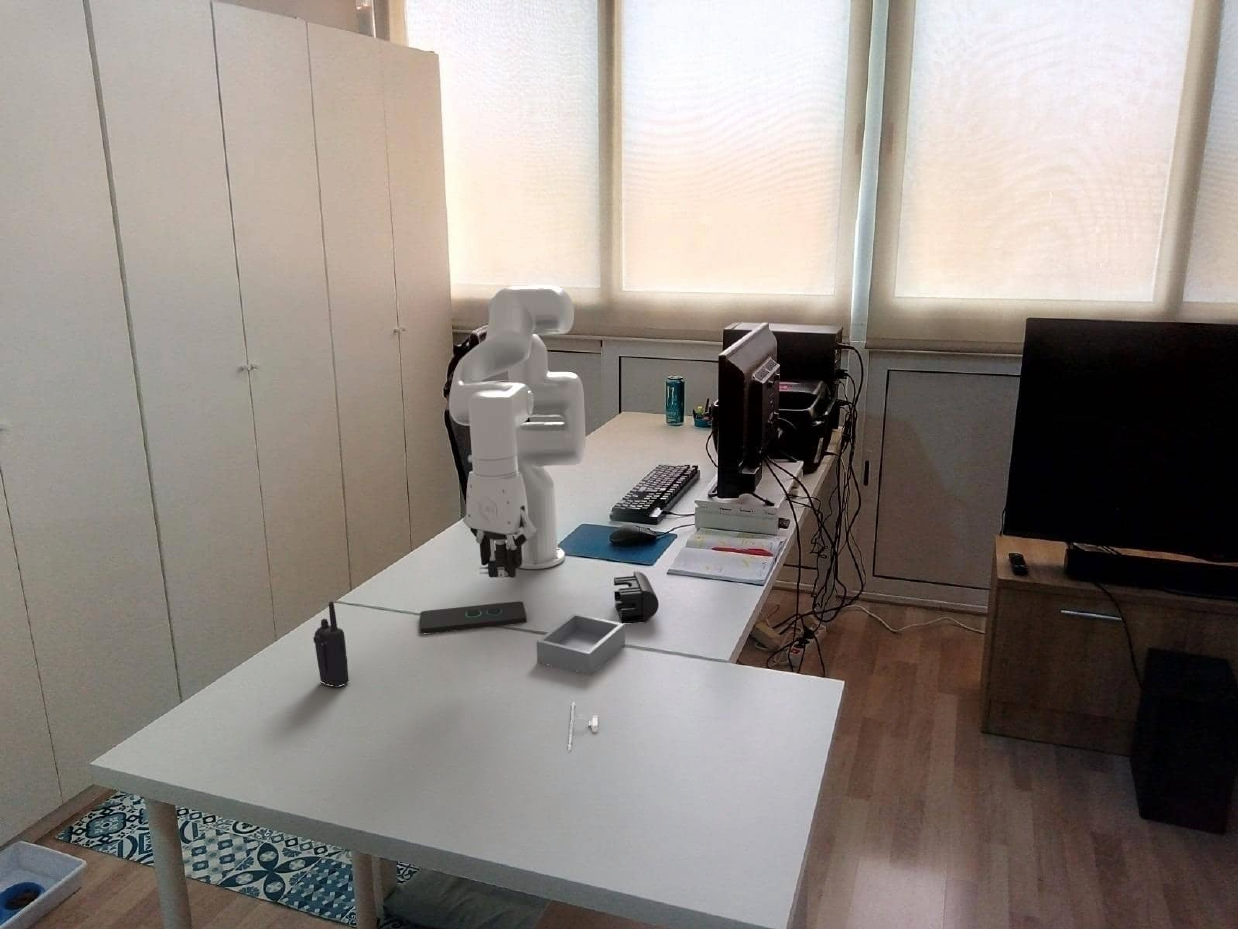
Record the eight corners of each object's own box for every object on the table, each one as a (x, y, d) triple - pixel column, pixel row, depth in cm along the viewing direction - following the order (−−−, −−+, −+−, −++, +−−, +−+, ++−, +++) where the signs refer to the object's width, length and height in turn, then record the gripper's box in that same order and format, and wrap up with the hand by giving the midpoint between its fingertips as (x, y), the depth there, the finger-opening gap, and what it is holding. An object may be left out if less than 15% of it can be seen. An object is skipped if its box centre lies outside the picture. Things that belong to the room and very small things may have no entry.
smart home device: (527, 617, 170) (419, 628, 166) (527, 625, 170) (420, 637, 167) (522, 599, 178) (420, 610, 174) (523, 607, 178) (421, 618, 175)
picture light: (571, 704, 143) (570, 692, 142) (598, 703, 143) (598, 692, 142) (566, 755, 129) (566, 742, 129) (596, 755, 129) (596, 742, 129)
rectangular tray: (537, 662, 155) (536, 641, 154) (574, 632, 166) (574, 613, 165) (590, 675, 150) (589, 654, 149) (625, 644, 161) (624, 624, 160)
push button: (477, 582, 153) (473, 527, 150) (482, 569, 158) (478, 516, 155) (516, 581, 153) (513, 526, 150) (519, 568, 158) (516, 515, 155)
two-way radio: (354, 682, 150) (344, 600, 146) (333, 694, 146) (323, 610, 142) (331, 675, 153) (321, 594, 149) (310, 686, 149) (299, 604, 145)
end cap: (659, 622, 170) (658, 589, 168) (622, 626, 169) (621, 593, 167) (649, 601, 179) (648, 569, 177) (614, 604, 178) (613, 572, 176)
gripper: (440, 464, 150) (449, 565, 155) (524, 477, 142) (530, 582, 147) (468, 453, 156) (475, 550, 162) (550, 464, 149) (554, 566, 154)
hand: (501, 564), depth 154 cm, fingers closed on push button, 5 cm apart
